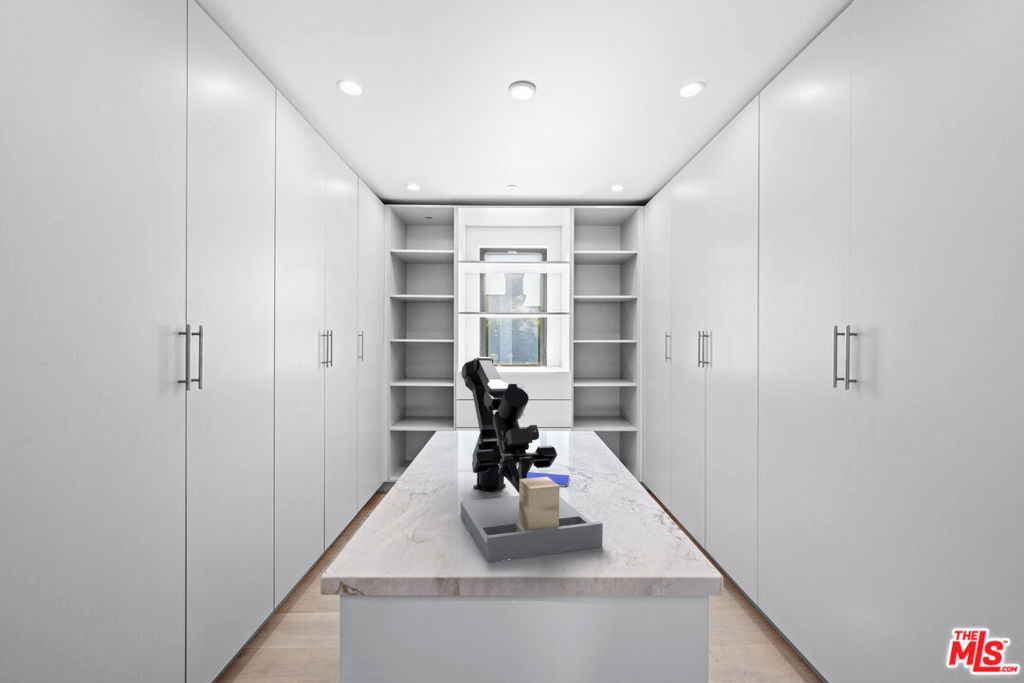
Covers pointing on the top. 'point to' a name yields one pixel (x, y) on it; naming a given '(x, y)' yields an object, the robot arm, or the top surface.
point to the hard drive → (551, 477)
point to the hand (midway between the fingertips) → (523, 494)
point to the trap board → (508, 540)
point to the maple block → (538, 503)
